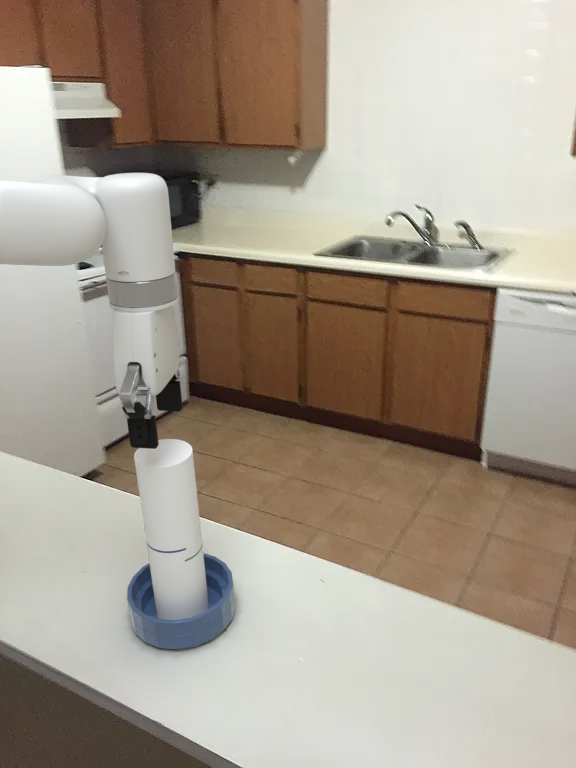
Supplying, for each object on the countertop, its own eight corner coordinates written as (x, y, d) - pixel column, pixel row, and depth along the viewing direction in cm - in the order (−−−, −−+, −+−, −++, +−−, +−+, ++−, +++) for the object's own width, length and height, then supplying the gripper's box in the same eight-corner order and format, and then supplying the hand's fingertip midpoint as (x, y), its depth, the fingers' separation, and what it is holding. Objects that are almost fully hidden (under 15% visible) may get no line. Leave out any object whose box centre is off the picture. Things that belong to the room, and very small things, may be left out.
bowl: (116, 648, 87) (111, 618, 85) (151, 576, 100) (147, 548, 98) (222, 656, 85) (219, 626, 83) (243, 582, 98) (241, 554, 96)
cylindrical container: (152, 600, 95) (130, 445, 84) (202, 587, 97) (185, 434, 87) (162, 635, 88) (138, 472, 78) (214, 620, 91) (198, 460, 80)
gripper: (136, 270, 82) (151, 396, 89) (77, 313, 67) (100, 462, 74) (195, 271, 81) (205, 398, 88) (150, 314, 66) (166, 465, 73)
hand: (158, 427), depth 81 cm, fingers open, 9 cm apart
